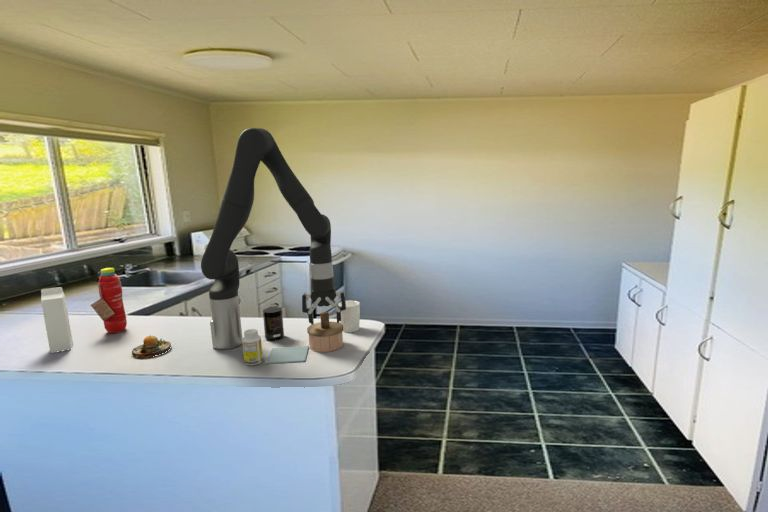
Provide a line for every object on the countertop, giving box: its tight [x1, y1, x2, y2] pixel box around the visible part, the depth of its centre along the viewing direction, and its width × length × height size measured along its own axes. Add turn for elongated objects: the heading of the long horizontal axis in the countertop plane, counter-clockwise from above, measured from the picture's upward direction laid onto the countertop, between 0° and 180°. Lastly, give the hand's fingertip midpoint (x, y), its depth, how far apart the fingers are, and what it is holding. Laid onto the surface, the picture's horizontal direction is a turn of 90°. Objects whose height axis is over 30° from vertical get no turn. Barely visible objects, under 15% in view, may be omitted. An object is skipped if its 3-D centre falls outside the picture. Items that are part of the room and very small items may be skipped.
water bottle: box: [90, 267, 128, 334], centre depth 170 cm, size 12×8×25 cm, turn 164°
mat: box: [265, 345, 310, 365], centre depth 143 cm, size 12×12×1 cm
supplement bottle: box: [242, 328, 264, 366], centre depth 138 cm, size 6×6×10 cm
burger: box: [131, 335, 172, 359], centre depth 150 cm, size 12×12×8 cm
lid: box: [306, 311, 344, 337], centre depth 149 cm, size 12×12×6 cm
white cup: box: [337, 300, 361, 333], centre depth 165 cm, size 8×8×10 cm
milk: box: [40, 286, 74, 354], centre depth 155 cm, size 6×6×22 cm
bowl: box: [308, 331, 344, 353], centre depth 150 cm, size 11×11×6 cm
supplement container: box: [262, 306, 285, 342], centre depth 159 cm, size 7×7×10 cm
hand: (325, 323), depth 149 cm, fingers open, 8 cm apart
